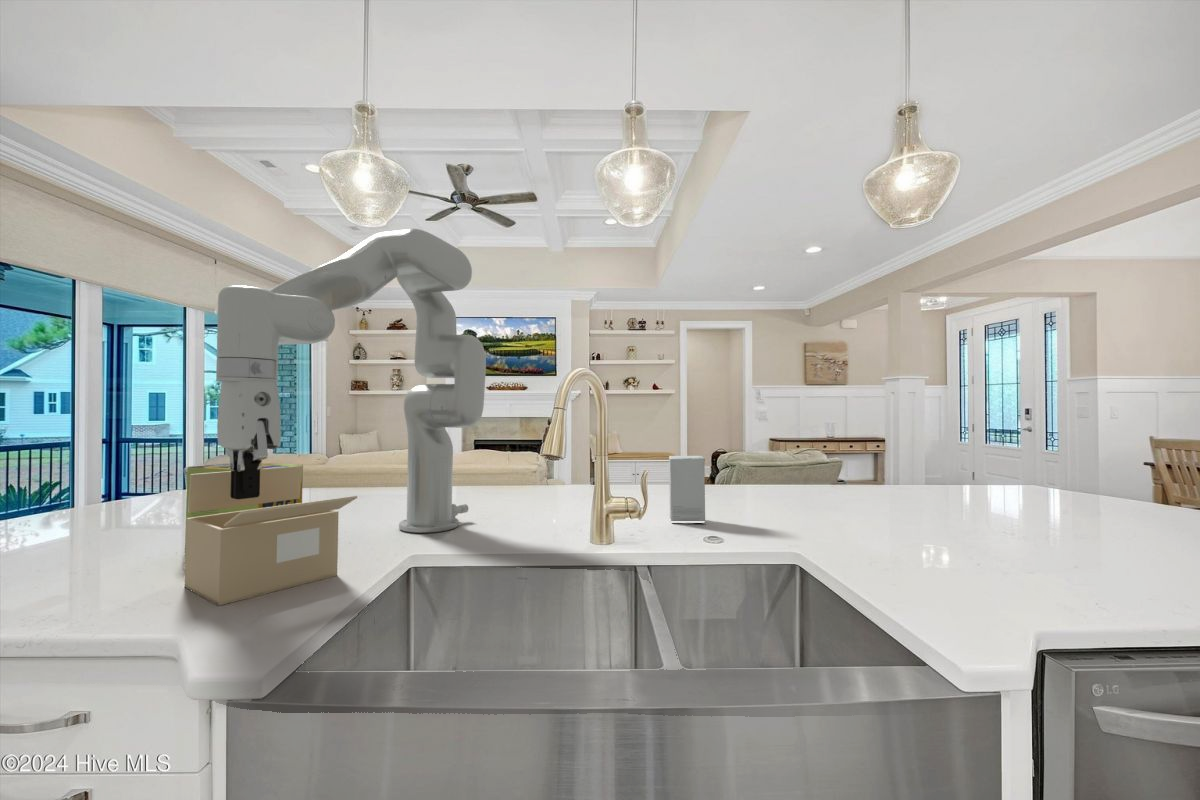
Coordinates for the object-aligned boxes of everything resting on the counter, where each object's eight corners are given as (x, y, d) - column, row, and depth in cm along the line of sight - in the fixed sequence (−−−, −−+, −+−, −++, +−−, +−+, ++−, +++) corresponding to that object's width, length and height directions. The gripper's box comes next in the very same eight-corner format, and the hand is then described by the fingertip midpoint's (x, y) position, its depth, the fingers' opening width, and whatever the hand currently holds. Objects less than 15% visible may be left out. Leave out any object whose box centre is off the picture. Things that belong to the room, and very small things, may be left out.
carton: (299, 561, 90) (300, 502, 90) (337, 575, 83) (338, 511, 83) (184, 587, 77) (186, 518, 77) (219, 606, 70) (220, 529, 70)
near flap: (357, 495, 80) (357, 497, 80) (338, 507, 83) (338, 509, 83) (240, 511, 67) (241, 514, 67) (223, 524, 70) (223, 526, 70)
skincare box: (702, 519, 129) (703, 455, 129) (705, 525, 122) (706, 458, 123) (668, 518, 130) (668, 454, 130) (669, 524, 123) (670, 457, 123)
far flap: (299, 498, 90) (298, 498, 90) (302, 465, 89) (301, 465, 90) (188, 512, 77) (187, 512, 77) (191, 474, 77) (190, 474, 77)
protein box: (257, 561, 90) (259, 470, 90) (183, 554, 93) (185, 466, 94) (303, 545, 100) (305, 463, 101) (235, 540, 104) (237, 461, 104)
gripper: (300, 372, 77) (297, 499, 76) (252, 375, 85) (250, 489, 85) (241, 369, 70) (238, 507, 70) (197, 372, 79) (194, 495, 78)
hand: (245, 497), depth 77 cm, fingers closed
